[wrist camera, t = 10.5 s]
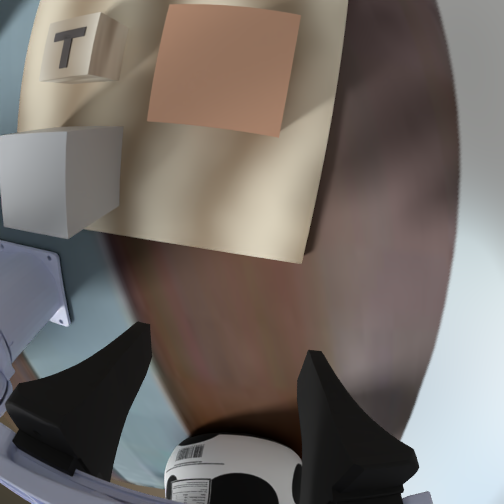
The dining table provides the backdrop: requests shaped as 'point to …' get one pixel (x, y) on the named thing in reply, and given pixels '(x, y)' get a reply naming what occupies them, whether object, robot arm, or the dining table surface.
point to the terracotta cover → (224, 67)
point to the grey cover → (59, 178)
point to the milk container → (233, 471)
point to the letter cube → (84, 50)
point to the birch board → (200, 135)
